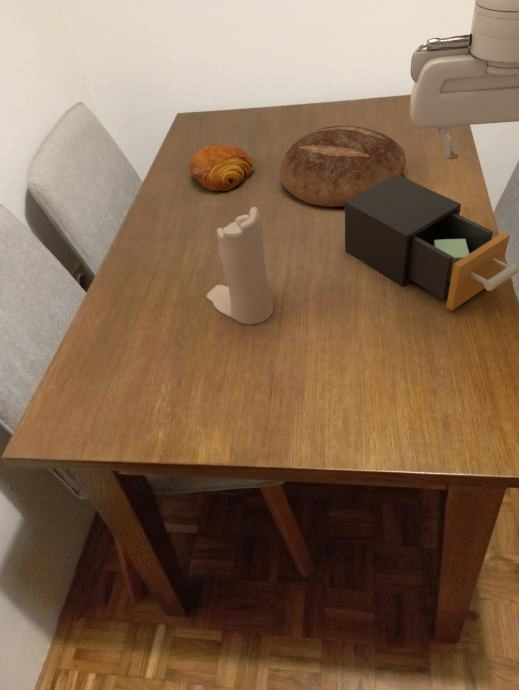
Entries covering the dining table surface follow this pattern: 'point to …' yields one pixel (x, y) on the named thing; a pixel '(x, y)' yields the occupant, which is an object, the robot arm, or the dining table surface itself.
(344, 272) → the dining table surface
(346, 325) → the dining table surface
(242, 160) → the croissant
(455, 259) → the block
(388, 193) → the cabinet
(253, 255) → the candle
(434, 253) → the drawer
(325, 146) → the bread
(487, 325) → the dining table surface
